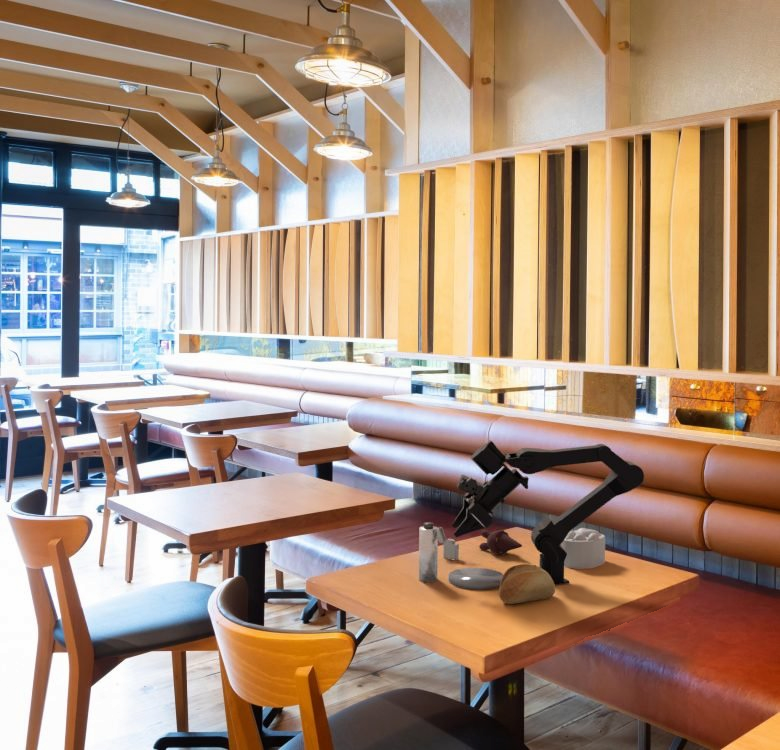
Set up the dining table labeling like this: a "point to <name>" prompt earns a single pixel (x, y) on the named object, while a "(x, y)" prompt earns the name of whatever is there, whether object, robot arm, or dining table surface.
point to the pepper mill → (428, 552)
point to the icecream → (498, 542)
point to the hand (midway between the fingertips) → (453, 531)
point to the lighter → (448, 546)
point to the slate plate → (475, 578)
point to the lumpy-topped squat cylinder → (584, 549)
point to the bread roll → (525, 584)
